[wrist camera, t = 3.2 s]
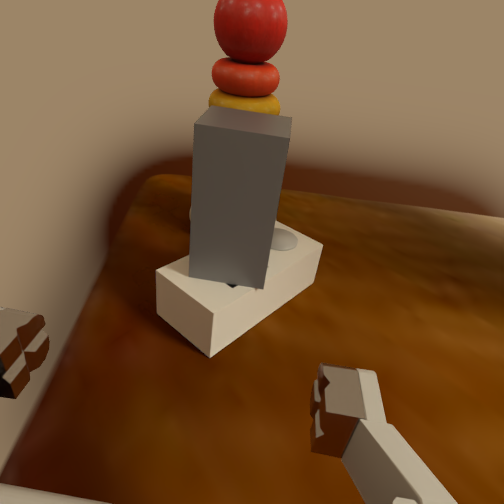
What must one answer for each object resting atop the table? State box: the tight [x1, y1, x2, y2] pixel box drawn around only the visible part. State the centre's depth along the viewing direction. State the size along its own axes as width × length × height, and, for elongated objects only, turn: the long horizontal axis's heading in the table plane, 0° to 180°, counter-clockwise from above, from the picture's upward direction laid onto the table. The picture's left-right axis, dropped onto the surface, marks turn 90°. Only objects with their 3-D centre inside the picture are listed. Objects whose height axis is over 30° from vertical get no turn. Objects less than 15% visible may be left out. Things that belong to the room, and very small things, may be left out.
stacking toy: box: [189, 0, 287, 221], centre depth 30 cm, size 8×8×19 cm
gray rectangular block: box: [189, 105, 292, 289], centre depth 22 cm, size 4×4×11 cm
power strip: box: [156, 221, 323, 358], centre depth 26 cm, size 11×5×4 cm, turn 138°
